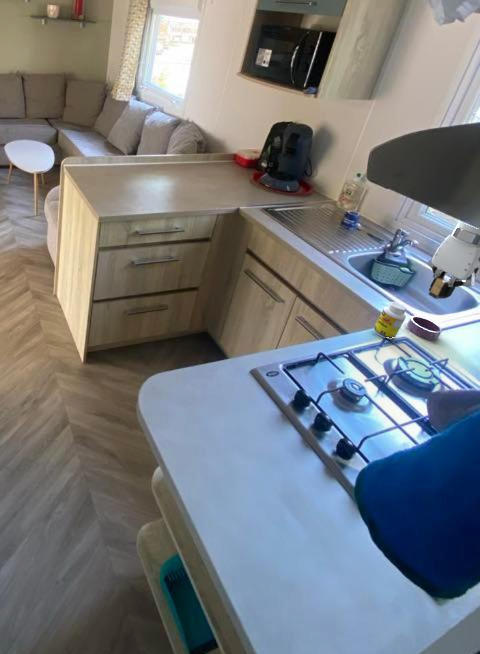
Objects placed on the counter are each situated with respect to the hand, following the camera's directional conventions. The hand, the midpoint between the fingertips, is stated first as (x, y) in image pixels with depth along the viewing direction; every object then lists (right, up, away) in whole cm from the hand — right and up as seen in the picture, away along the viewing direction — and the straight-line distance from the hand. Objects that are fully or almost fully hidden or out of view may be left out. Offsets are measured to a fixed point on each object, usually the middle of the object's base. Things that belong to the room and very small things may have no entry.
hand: (438, 293), depth 120 cm
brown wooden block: (0, -1, 0) cm, 1 cm away
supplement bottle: (-13, -13, +5) cm, 19 cm away
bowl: (+2, -13, +9) cm, 16 cm away
